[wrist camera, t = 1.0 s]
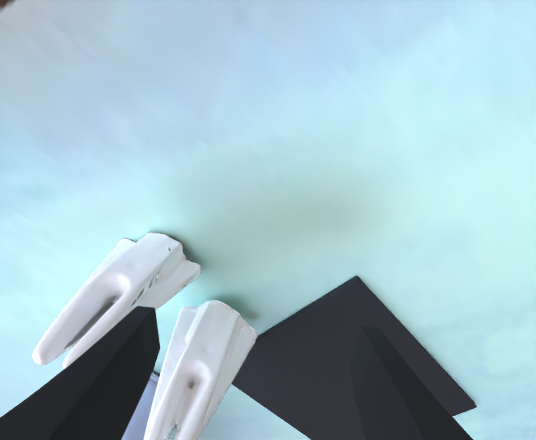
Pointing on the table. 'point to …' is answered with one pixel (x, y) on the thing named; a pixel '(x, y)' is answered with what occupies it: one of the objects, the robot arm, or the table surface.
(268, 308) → the table surface
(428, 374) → the placemat
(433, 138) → the table surface
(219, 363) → the shaker set
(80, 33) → the table surface
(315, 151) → the table surface
